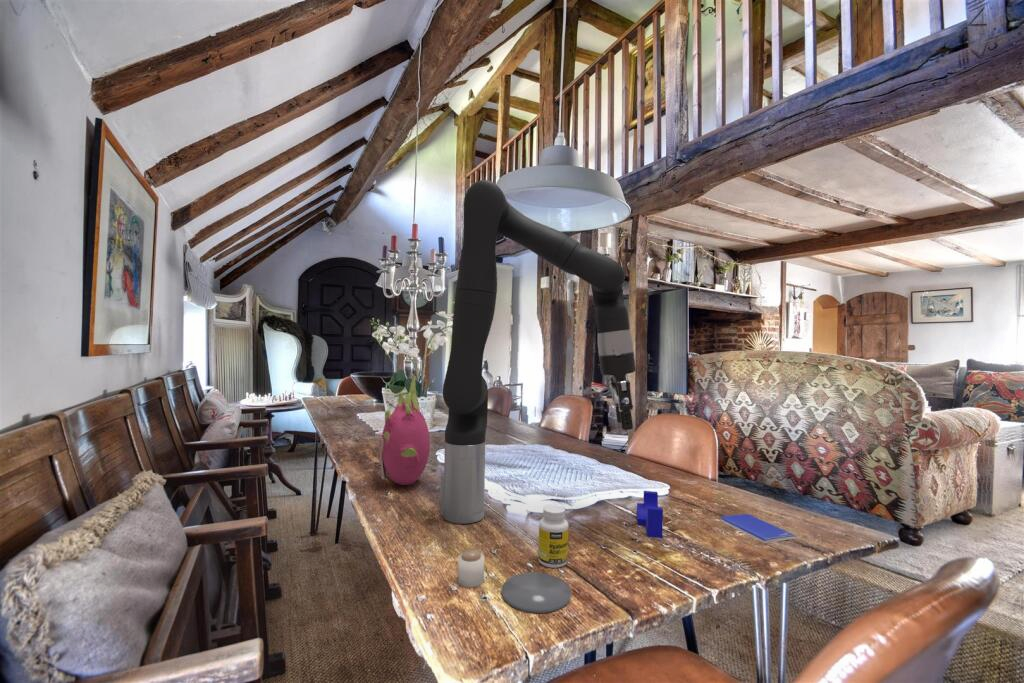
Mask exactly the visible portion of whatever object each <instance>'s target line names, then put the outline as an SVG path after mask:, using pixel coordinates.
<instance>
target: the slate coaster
mask: <svg viewBox="0 0 1024 683" xmlns="http://www.w3.org/2000/svg"><path fill="white" fill-rule="evenodd" d="M571 594H572V590H571V587H570V586H569V584H568V583H567V582H566V581H565V580H564V579H561V578H560V577H558V576H556V575H553V574H550V573H544V572H535V571H534V572H531V571H530V572H522V573H519V574H516V575H513V576H510V577H509V578H507V579H506V580H505V581H504V583H503V584H502V587H501V595H502V598H504V599H503V600H504V601H505V603H507V605H509V606H510V607H512V608H513V609H516V610H518V611H521V612H526V613H531V614H548V613H553V611H554V612H556V611H559V610H561V609H563V608H565V607H566V606H567V605H568V604H569V603H570V601H571V597H572V595H571Z"/></svg>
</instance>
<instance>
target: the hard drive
mask: <svg viewBox="0 0 1024 683" xmlns="http://www.w3.org/2000/svg"><path fill="white" fill-rule="evenodd" d="M720 522H722V523H723V524H726V525H727V526H729V527H731V528H734V529H735V530H737V531H739V532H741V533H743V534H745V535H747V536H749V537H750V536H751V537H750V538H752V537H753V539H754V538H755V540H756V539H757V540H756V541H758V540H760V541H762V542H764V543H769V542H775V541H781V540H787V539H794V538H796V539H797V536H796V534H793V533H791V532H789V531H787V530H785V529H782V528H780V527H778V526H775V525H773V524H771V523H769V522H767V521H765V520H763V519H761V518H758V517H757V516H756V517H755V516H754V515H751V514H750V513H743V514H733V515H723V516H721V517H720ZM760 541H759V542H760ZM762 542H761V543H762ZM764 543H763V544H764ZM769 544H770V543H769Z"/></svg>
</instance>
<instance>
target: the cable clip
mask: <svg viewBox="0 0 1024 683" xmlns="http://www.w3.org/2000/svg"><path fill="white" fill-rule="evenodd" d="M658 494H659V493H658V491H653V490H652V491H651V490H643V502H636V519H637V525H638V526H645V532H646V536H647V538H656V539H663V531H664V529H663V526H664V524H663V523H664V509H663V507H659V500H658V499H659V495H658Z"/></svg>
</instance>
